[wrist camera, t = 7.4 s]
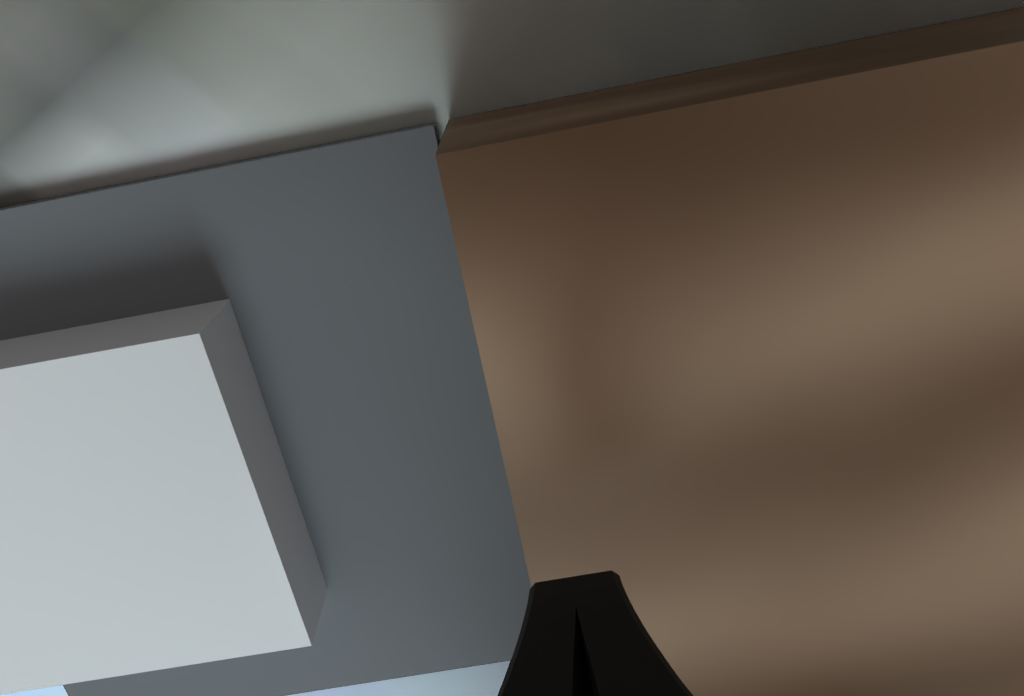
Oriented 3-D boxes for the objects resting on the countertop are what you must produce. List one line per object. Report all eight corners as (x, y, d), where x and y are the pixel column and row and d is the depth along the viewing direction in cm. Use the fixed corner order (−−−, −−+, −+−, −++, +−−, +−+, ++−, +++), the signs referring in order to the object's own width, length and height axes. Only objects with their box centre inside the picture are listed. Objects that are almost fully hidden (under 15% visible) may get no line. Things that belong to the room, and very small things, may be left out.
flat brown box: (1011, 570, 22) (1114, 687, 18) (560, 641, 23) (571, 768, 19) (1045, 2, 16) (1203, 6, 13) (449, 120, 17) (435, 154, 13)
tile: (-14, 696, 20) (30, 636, 22) (311, 645, 19) (328, 589, 21) (-184, 402, 17) (-116, 361, 19) (199, 333, 16) (229, 298, 18)
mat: (548, 643, 23) (549, 653, 22) (91, 715, 23) (85, 726, 23) (434, 122, 17) (432, 125, 17) (-157, 238, 18) (-171, 243, 18)
